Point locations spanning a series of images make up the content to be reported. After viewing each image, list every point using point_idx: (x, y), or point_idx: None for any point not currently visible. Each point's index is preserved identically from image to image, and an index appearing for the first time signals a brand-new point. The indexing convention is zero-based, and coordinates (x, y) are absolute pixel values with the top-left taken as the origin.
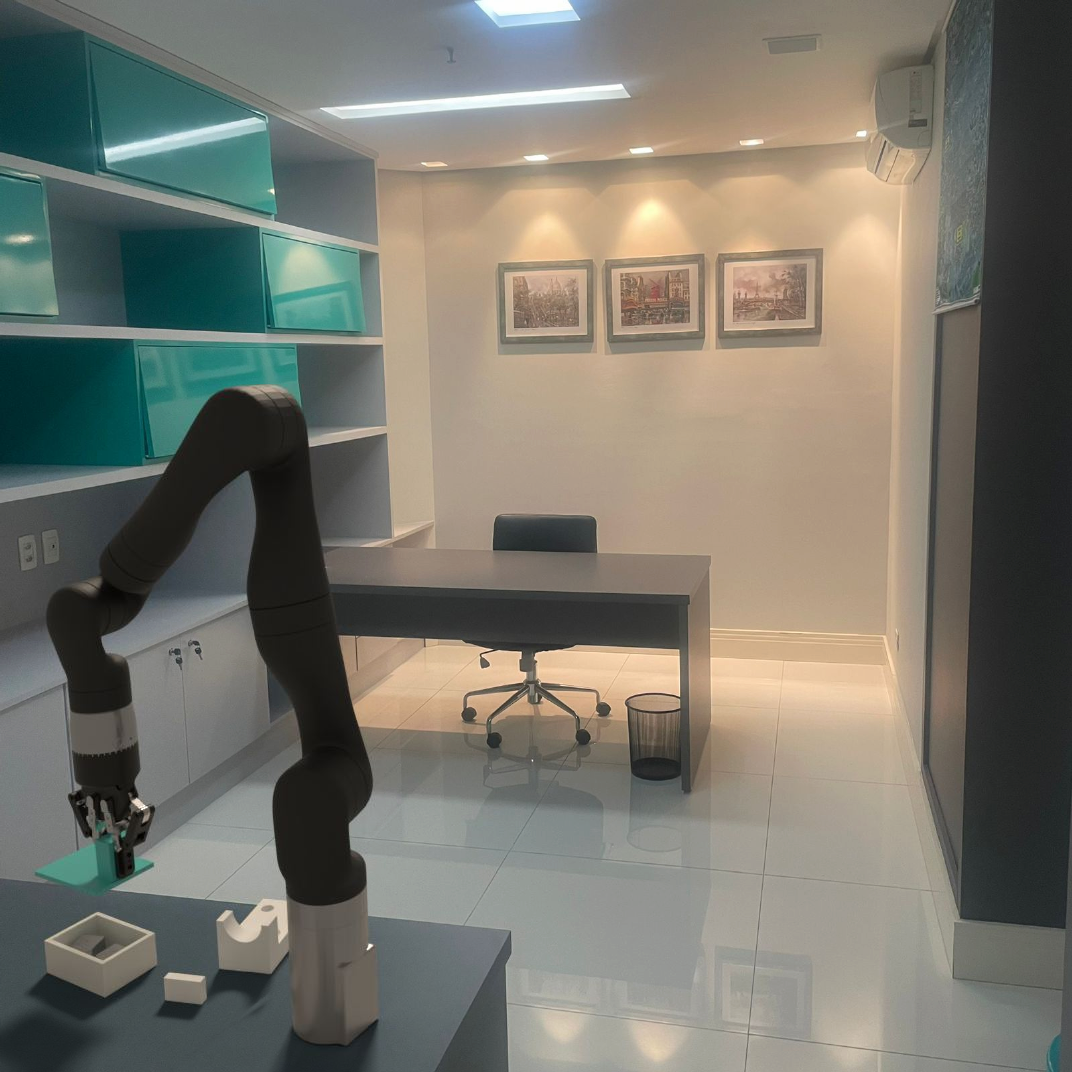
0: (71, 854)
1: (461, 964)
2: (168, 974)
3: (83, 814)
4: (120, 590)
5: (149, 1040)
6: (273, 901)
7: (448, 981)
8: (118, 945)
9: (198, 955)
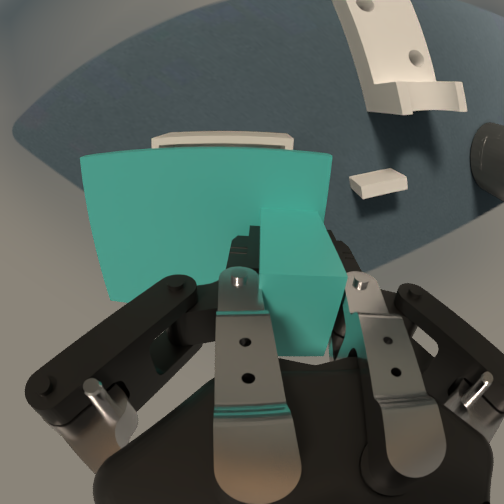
0: (92, 221)
1: None
2: (363, 190)
3: (153, 390)
4: None
5: (372, 239)
6: None
7: None
8: None
9: (313, 87)
